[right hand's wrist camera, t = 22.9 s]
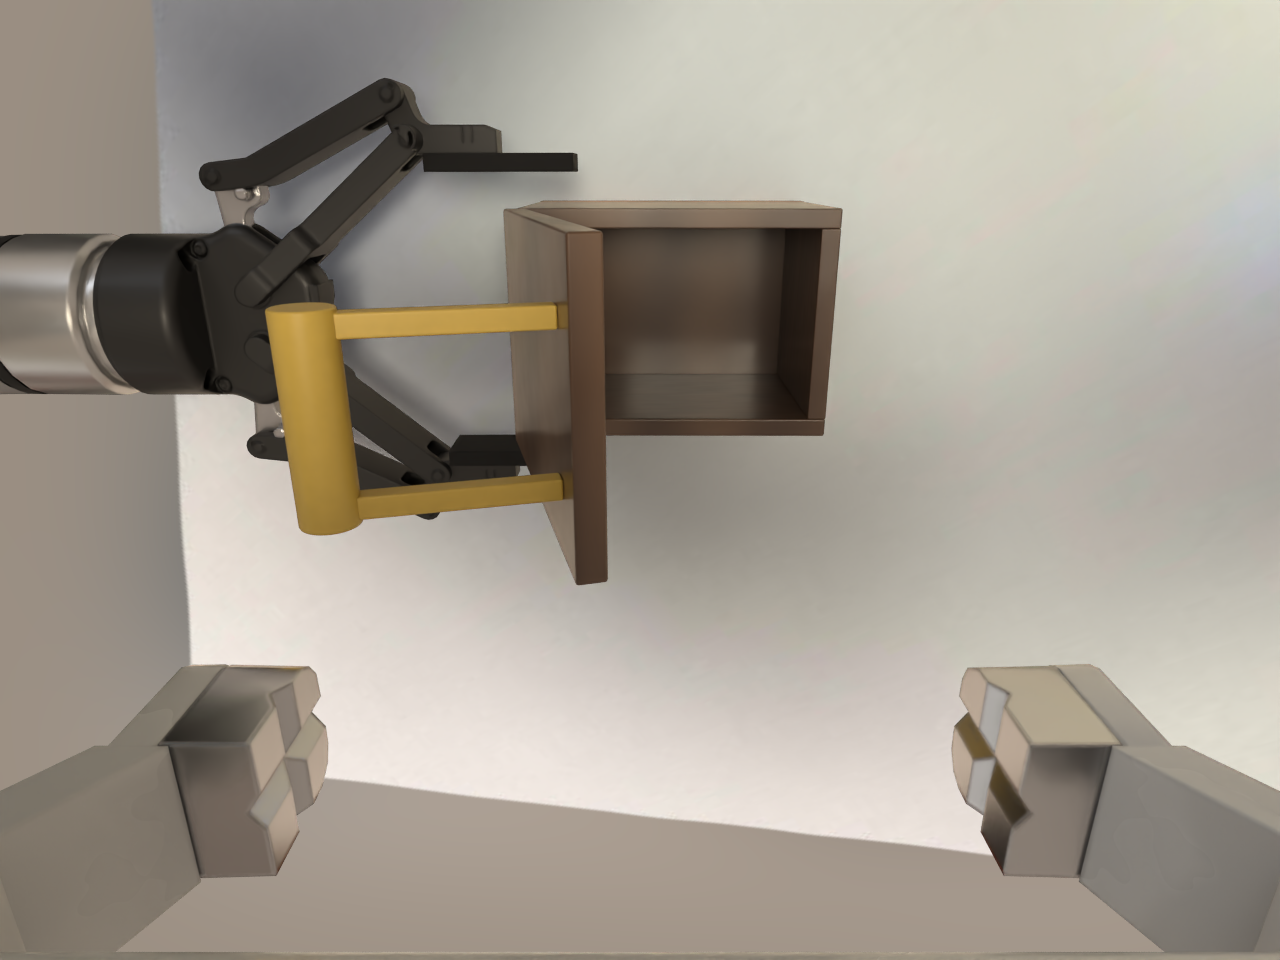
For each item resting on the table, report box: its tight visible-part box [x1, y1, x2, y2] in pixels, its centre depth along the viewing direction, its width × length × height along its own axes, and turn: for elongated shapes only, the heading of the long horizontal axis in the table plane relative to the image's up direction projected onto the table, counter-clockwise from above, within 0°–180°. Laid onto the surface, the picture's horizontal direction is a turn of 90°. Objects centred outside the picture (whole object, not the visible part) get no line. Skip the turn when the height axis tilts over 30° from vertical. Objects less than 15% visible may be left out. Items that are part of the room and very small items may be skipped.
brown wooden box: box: [518, 201, 842, 436], centre depth 41 cm, size 14×10×10 cm
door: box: [265, 209, 608, 585], centre depth 28 cm, size 15×10×9 cm
